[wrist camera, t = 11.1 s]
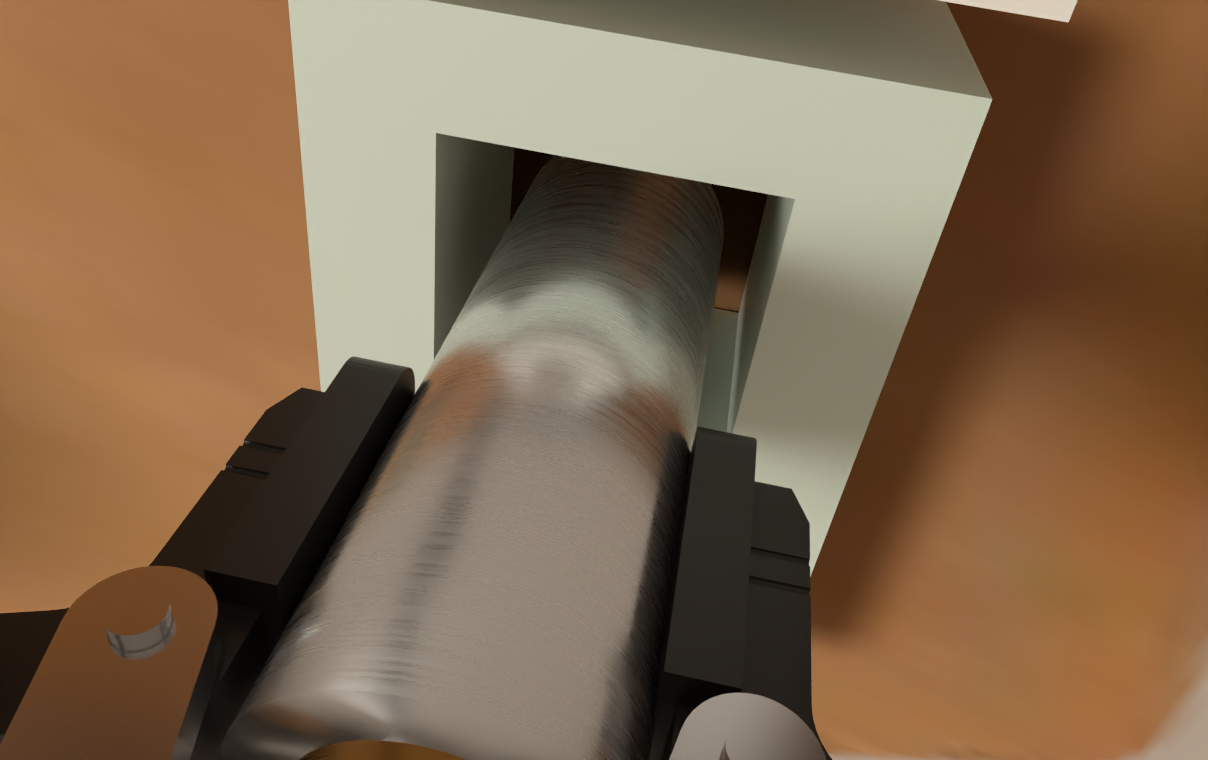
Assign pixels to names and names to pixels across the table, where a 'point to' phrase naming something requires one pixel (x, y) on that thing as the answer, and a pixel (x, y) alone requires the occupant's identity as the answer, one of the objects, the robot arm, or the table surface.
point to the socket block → (1027, 7)
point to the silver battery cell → (518, 503)
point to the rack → (652, 144)
